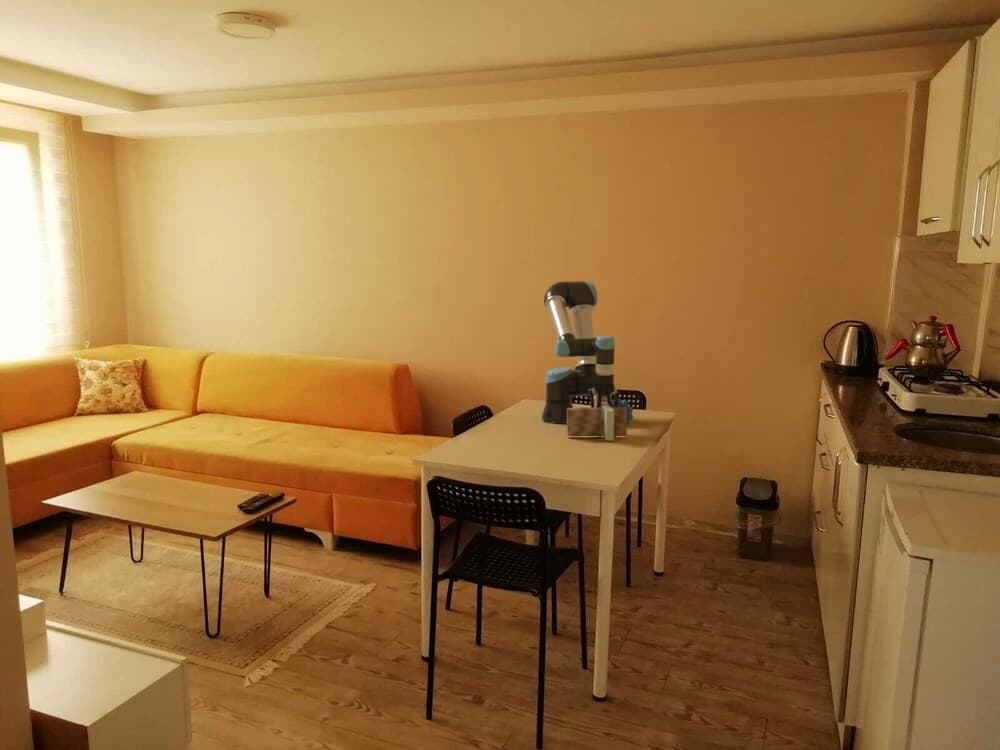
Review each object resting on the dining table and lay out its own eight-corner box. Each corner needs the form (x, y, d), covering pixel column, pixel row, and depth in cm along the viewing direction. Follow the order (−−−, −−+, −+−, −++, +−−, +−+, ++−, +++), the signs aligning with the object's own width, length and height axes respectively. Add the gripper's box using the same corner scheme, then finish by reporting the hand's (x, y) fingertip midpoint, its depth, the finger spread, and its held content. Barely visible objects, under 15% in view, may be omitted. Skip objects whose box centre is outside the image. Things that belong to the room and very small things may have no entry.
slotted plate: (599, 430, 305) (599, 402, 303) (606, 430, 305) (606, 402, 303) (606, 440, 290) (606, 411, 287) (613, 440, 290) (614, 411, 288)
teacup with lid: (591, 408, 349) (592, 384, 347) (593, 404, 357) (593, 381, 355) (616, 409, 346) (617, 385, 344) (618, 405, 355) (618, 381, 353)
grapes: (604, 426, 314) (605, 399, 312) (607, 422, 321) (608, 396, 319) (631, 428, 311) (632, 400, 308) (633, 424, 317) (634, 397, 315)
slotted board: (567, 438, 296) (568, 409, 293) (566, 436, 299) (567, 407, 296) (626, 437, 296) (627, 408, 294) (624, 435, 299) (625, 407, 297)
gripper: (586, 375, 295) (585, 431, 299) (626, 375, 296) (624, 431, 300) (583, 372, 302) (583, 427, 307) (622, 371, 303) (621, 426, 307)
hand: (603, 428), depth 303 cm, fingers closed on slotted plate, 3 cm apart
